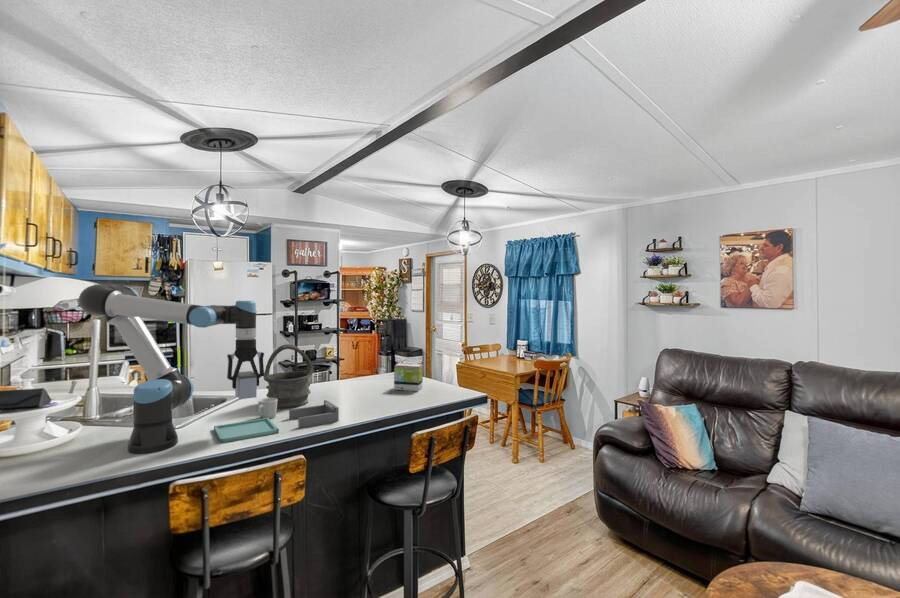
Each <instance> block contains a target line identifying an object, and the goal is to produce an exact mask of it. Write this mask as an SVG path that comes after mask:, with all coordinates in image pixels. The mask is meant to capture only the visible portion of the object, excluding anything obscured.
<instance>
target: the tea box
mask: <svg viewBox="0 0 900 598" xmlns="http://www.w3.org/2000/svg"><path fill="white" fill-rule="evenodd" d="M423 370H424V364H423V363H412V362H398V363H397V364H395V365H394V368H393V375H394V376H393V390H394V391H409V392H410V391H411V392H419V391H420V390H421V389H423V378H424V376H423V375H424V373H423V372H424V371H423Z"/></svg>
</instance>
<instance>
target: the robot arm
mask: <svg viewBox="0 0 900 598" xmlns="http://www.w3.org/2000/svg"><path fill="white" fill-rule="evenodd" d="M78 305H79V307H80V308H81V310H82V311H84V312H85V313H87V314H88V315H92V316H98V317H99V316H101V317H102V316H103V318H104V319H105V320H106V322H107V324H109V325H112V326H115V328H116V329H117V331H118V333H119V334H120V336H121V337H122V339H123V340H124V342H125V344H126V345H127V346H128V348H129V350H130V351H131V353H132V355H133V356H134V358H135V360H136V362H137V363H138V365H139V366H140V368H141V369H142V371H143V372H144V375H145V376H146V377H147V380H146V381H144V382H141V383H138V384H137V385H136V386H135V387H134V389H133V395H132V400H133V403H132V404H133V429H132V432H131V434H130V437H129V440H128V443H127V451H128V453H132V454H148V453H156V452H160V451H164V450H167V449H169V448H172V447H174V446H176V445H178V443H179V438H178V437H179V436H178V434H177V431H176V429H175V426H174V423H173V410H174V409H176V408H178V407H180V406H182V405H184V404H185V403H186V402H187V401H189V400H190V399H191V397H192V396H193V393H194V383H193V381H192V380H191V378H189V376H186V375H183V374H182V373H181V372H180V369H178V368H176V367H172V366H171V364H170V362H169V361H168V359H167V358H166V356H165V354H164V352H163V351H162V349H161V348H160V346H159V345H158V343H157V340H155V338H154V336H153V335H152V333H151V331H150V330H149V328H148V327H147V324H146V323H145V322H144V320H143V319H147V320H155V321H160V322H161V321H162V322H170V323H177V324H184V325H185V324H186V325H191V326H193V327H196V328H201V329H202V328H204V329H205V328H208V327H212V326H218V325H235V339H236V340H235V350H234V352H233V353H231V354H227V355H226V357H227V360H228V361H227V375H226V378H227V379H228V380H230V381H232V383H231V384H232V385H231V386H232V389H234V391H235V393H234V397H236V398H238V380H236V379H237V376H238V373H239V372H240V370H241V367H242V364H243V363H245V362H249V363H250V366H251V368H252V372H253V373H255V374H256V375H257V378H256V396H257V390H258V389H257V387H258V386H260V378H262V377H264V372H265V368H264V356H265V353H264V352H263V351H258V350H257V339H256V338H257V305H256V302H255V301H253V300H236V301H235V304H234V305H222V304H221V305H220V304H219V305H217V304H213V305H212V304H211V305H200V304H199V305H198V304H192V303H186V302H185V303H184V302H178V301H171V300H165V299H157V298H150V297H144V296H140V295H139V293H138V292H137V291H136V290H135V289H134V288H132V287H131V286H127V285H125V284H117V283H116V284H100V283H99V284H93V285H89V286H87V287H86V288H84V289H83V290H82V291H81V292H80V294H79V296H78ZM256 356H257V357H258V366H259V367H258V369H259V370H258V369H257V366H256V363H255V360H254V359H255V357H256ZM235 357H236V358H237V363H236V365H235V369H234V371H233V360H234V359H235ZM232 373H233V375H232Z"/></svg>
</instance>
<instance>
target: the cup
mask: <svg viewBox="0 0 900 598" xmlns="http://www.w3.org/2000/svg"><path fill="white" fill-rule="evenodd" d="M277 401H278V399H277V398H268V397H266V398H264V397H263V398H261V399H259V400H258V407H257V411H256V412H257V415H258V416H259V417H260V419H263V418H269V419H273V418H275V417H276V415H277V409H278V408H277Z"/></svg>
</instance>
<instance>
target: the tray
mask: <svg viewBox="0 0 900 598" xmlns="http://www.w3.org/2000/svg"><path fill="white" fill-rule="evenodd" d="M213 431H214V433H215V435H216V437H217V439H218V442H219V443H220V444H224V443H230V442H235V441H241V440H246V439H251V438H259V437H264V436H269V435H275V434H279V433H280V429H279V428H278V427H277V425H275V423H274V422H273V421H272V420H271V418H258V419H257V418H256V419H251V420H244V421H238V422H232V423H225V424H219V425H214V426H213Z"/></svg>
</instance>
